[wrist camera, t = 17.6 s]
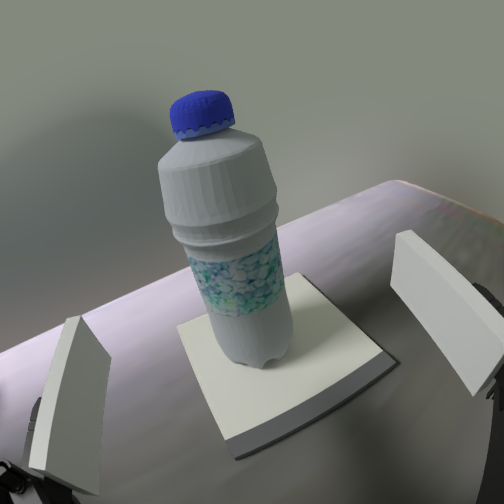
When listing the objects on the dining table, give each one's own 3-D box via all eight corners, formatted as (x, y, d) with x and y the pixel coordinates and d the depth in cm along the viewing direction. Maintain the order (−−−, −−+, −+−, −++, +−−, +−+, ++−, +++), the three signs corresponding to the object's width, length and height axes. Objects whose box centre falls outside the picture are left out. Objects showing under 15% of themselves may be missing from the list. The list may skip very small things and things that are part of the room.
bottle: (293, 312, 27) (256, 79, 16) (302, 372, 22) (259, 78, 11) (222, 321, 28) (155, 102, 17) (218, 380, 22) (112, 117, 11)
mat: (236, 460, 17) (234, 458, 16) (178, 330, 29) (176, 325, 28) (394, 367, 20) (396, 362, 20) (298, 276, 32) (297, 271, 32)
